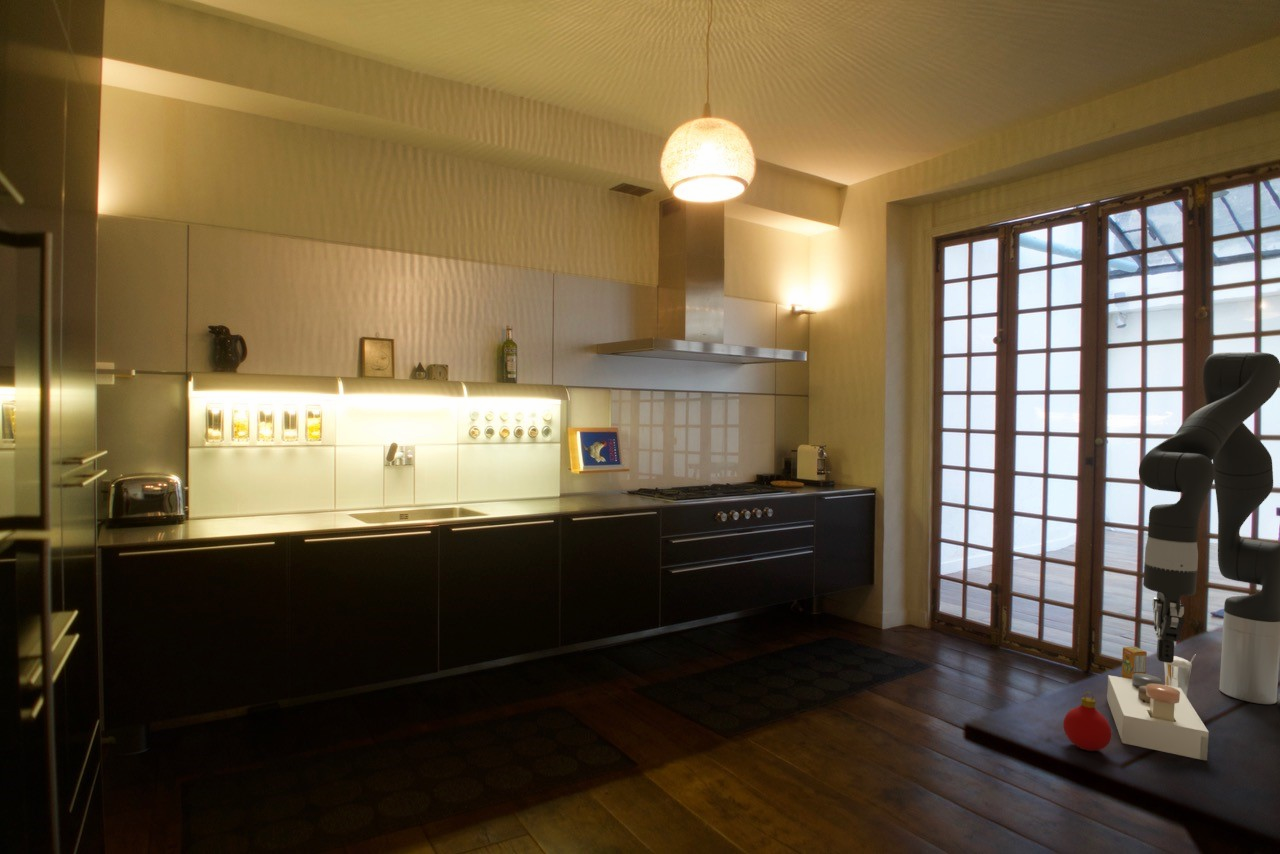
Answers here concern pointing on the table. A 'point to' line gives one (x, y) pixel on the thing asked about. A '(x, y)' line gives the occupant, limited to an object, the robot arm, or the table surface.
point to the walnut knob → (1143, 694)
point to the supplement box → (1133, 661)
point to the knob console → (1156, 722)
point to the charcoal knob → (1144, 680)
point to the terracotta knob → (1162, 701)
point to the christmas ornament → (1087, 726)
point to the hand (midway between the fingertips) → (1164, 660)
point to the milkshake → (1178, 673)
